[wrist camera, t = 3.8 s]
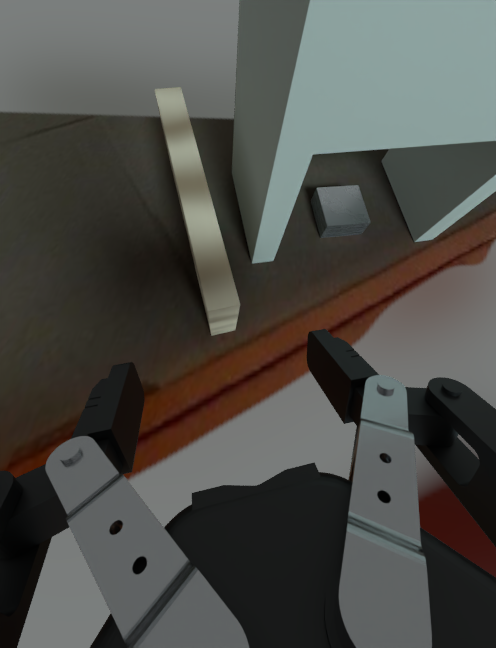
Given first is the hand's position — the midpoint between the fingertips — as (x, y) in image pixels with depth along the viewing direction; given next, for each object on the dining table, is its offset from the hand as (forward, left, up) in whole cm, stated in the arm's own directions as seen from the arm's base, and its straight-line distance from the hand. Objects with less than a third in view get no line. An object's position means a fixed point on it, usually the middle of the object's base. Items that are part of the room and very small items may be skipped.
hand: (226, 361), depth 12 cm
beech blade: (+12, +10, -13) cm, 21 cm away
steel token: (+23, -2, -13) cm, 26 cm away
